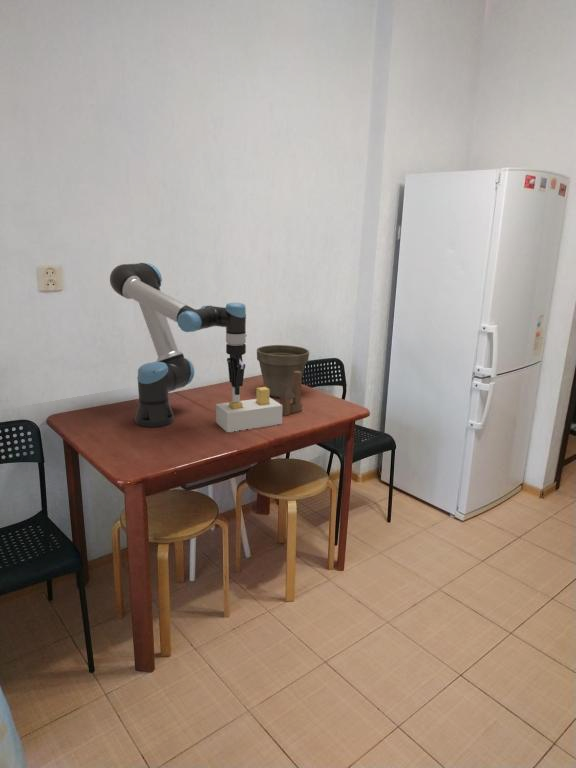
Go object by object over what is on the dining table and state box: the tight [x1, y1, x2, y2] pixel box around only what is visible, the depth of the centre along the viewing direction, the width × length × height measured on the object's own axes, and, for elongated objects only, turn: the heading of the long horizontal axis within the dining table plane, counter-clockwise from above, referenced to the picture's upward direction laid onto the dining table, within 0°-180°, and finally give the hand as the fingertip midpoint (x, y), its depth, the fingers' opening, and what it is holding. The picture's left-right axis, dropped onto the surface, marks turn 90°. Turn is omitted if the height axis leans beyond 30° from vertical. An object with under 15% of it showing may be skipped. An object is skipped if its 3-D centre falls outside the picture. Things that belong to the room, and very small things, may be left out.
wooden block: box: [278, 371, 303, 417], centre depth 231 cm, size 4×11×18 cm, turn 135°
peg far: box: [255, 386, 270, 405], centre depth 219 cm, size 4×4×8 cm
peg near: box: [228, 400, 242, 409], centre depth 214 cm, size 4×4×8 cm
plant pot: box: [256, 344, 310, 398], centre depth 257 cm, size 25×25×22 cm
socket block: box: [215, 396, 283, 434], centre depth 218 cm, size 24×12×8 cm, turn 118°
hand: (236, 401), depth 213 cm, fingers closed
